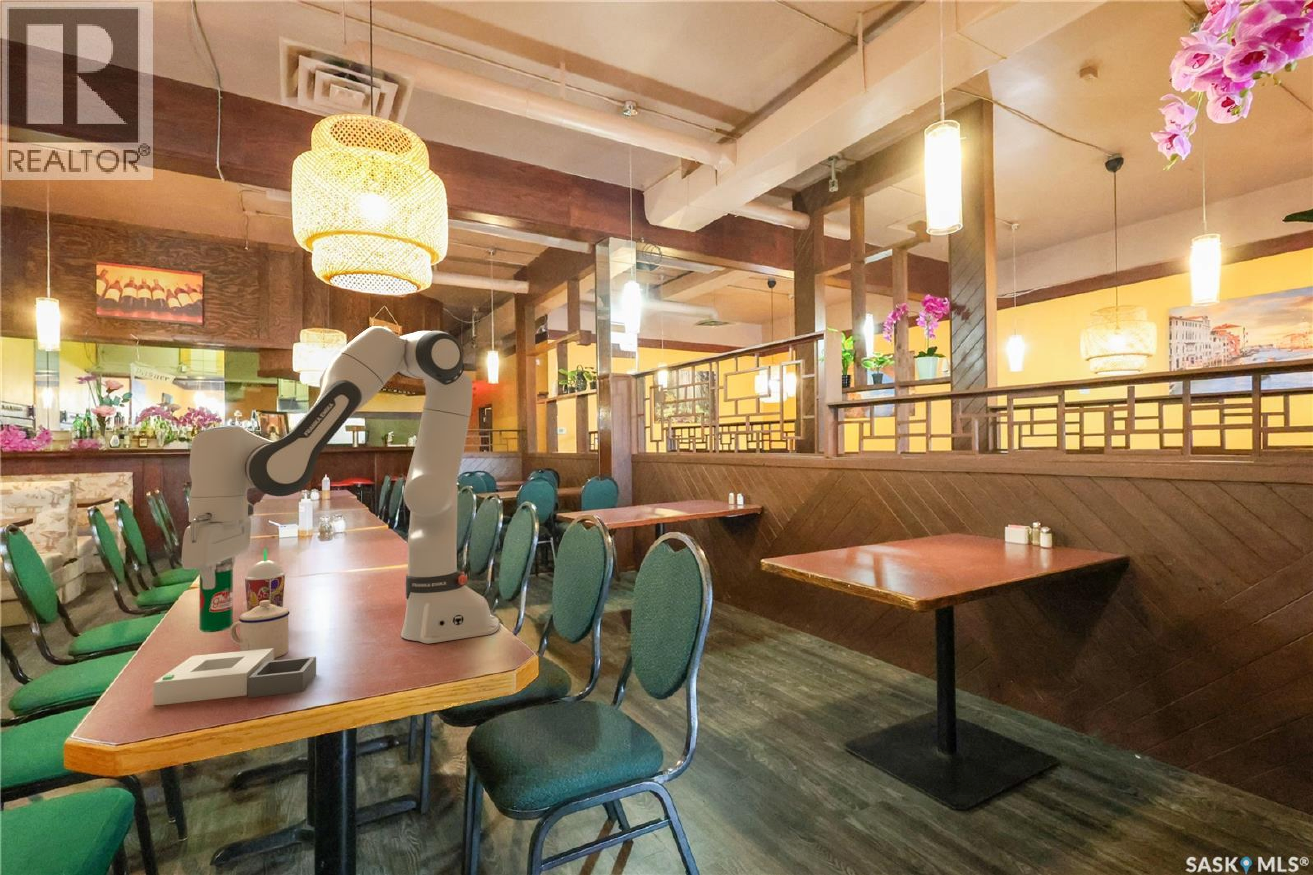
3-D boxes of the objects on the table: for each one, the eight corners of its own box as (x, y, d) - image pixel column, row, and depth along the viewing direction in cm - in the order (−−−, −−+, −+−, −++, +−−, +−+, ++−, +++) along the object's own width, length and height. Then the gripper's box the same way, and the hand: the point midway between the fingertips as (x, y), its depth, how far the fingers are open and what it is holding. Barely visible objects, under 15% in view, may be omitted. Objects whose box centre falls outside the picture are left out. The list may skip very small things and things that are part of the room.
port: (273, 668, 120) (273, 646, 120) (246, 695, 106) (246, 670, 106) (192, 676, 116) (192, 653, 116) (153, 705, 102) (153, 680, 103)
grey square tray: (316, 674, 116) (316, 656, 116) (302, 691, 108) (302, 672, 108) (265, 679, 114) (265, 661, 114) (248, 697, 105) (248, 677, 105)
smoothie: (291, 628, 147) (291, 547, 147) (254, 638, 140) (254, 553, 140) (275, 624, 151) (275, 545, 152) (238, 632, 144) (238, 550, 145)
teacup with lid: (298, 648, 132) (298, 595, 132) (271, 662, 123) (271, 606, 123) (246, 648, 132) (246, 596, 133) (214, 663, 123) (214, 606, 124)
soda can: (212, 634, 108) (212, 568, 108) (192, 632, 110) (192, 567, 110) (239, 626, 113) (239, 563, 113) (219, 624, 114) (220, 562, 115)
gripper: (213, 516, 103) (212, 596, 102) (257, 505, 122) (256, 573, 122) (170, 517, 101) (169, 599, 101) (222, 506, 121) (221, 575, 120)
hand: (217, 584), depth 111 cm, fingers closed on soda can, 5 cm apart
